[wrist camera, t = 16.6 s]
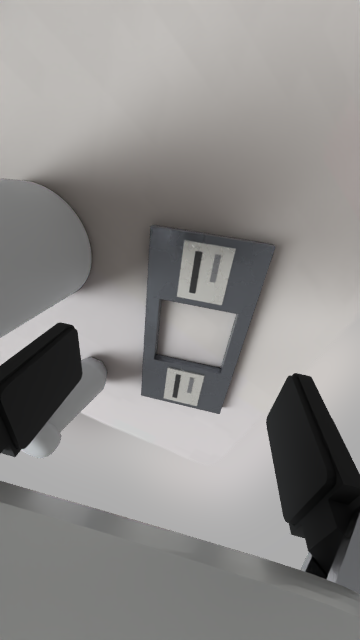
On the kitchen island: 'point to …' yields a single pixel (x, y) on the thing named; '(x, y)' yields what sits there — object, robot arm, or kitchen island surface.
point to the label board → (204, 291)
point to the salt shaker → (69, 408)
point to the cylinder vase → (37, 252)
